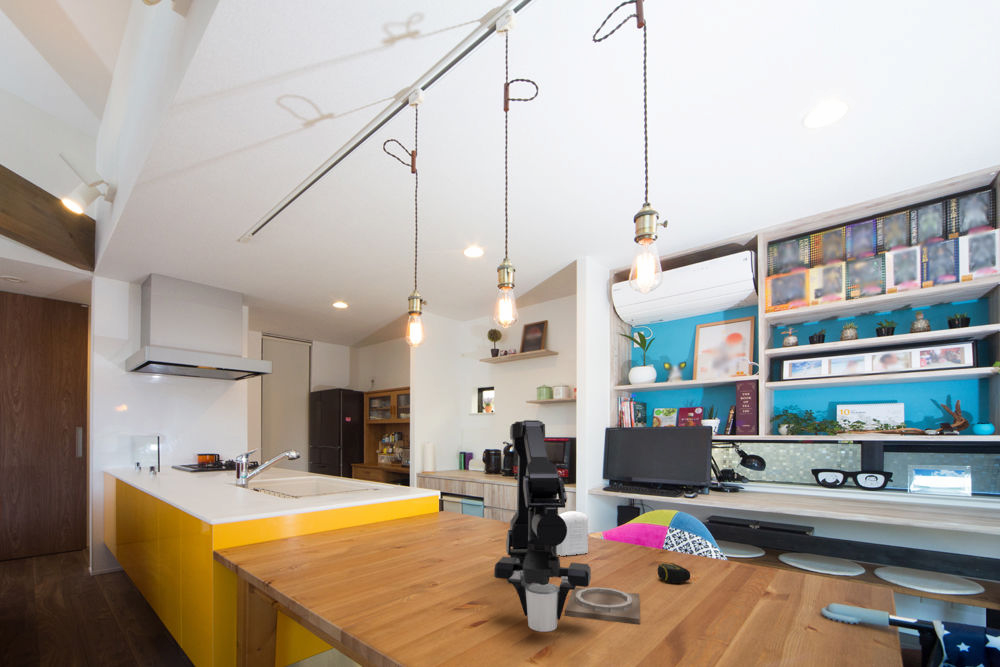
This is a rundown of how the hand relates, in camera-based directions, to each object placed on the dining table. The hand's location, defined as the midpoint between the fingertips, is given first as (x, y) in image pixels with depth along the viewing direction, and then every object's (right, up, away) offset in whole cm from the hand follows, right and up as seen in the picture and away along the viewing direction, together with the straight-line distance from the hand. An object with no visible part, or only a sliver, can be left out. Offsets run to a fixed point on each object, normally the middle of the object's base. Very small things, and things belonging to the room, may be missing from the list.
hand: (542, 617), depth 97 cm
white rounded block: (+14, -11, +52) cm, 55 cm away
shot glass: (0, -2, 0) cm, 2 cm away
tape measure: (+36, -7, +29) cm, 47 cm away
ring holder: (+14, -4, +10) cm, 18 cm away
